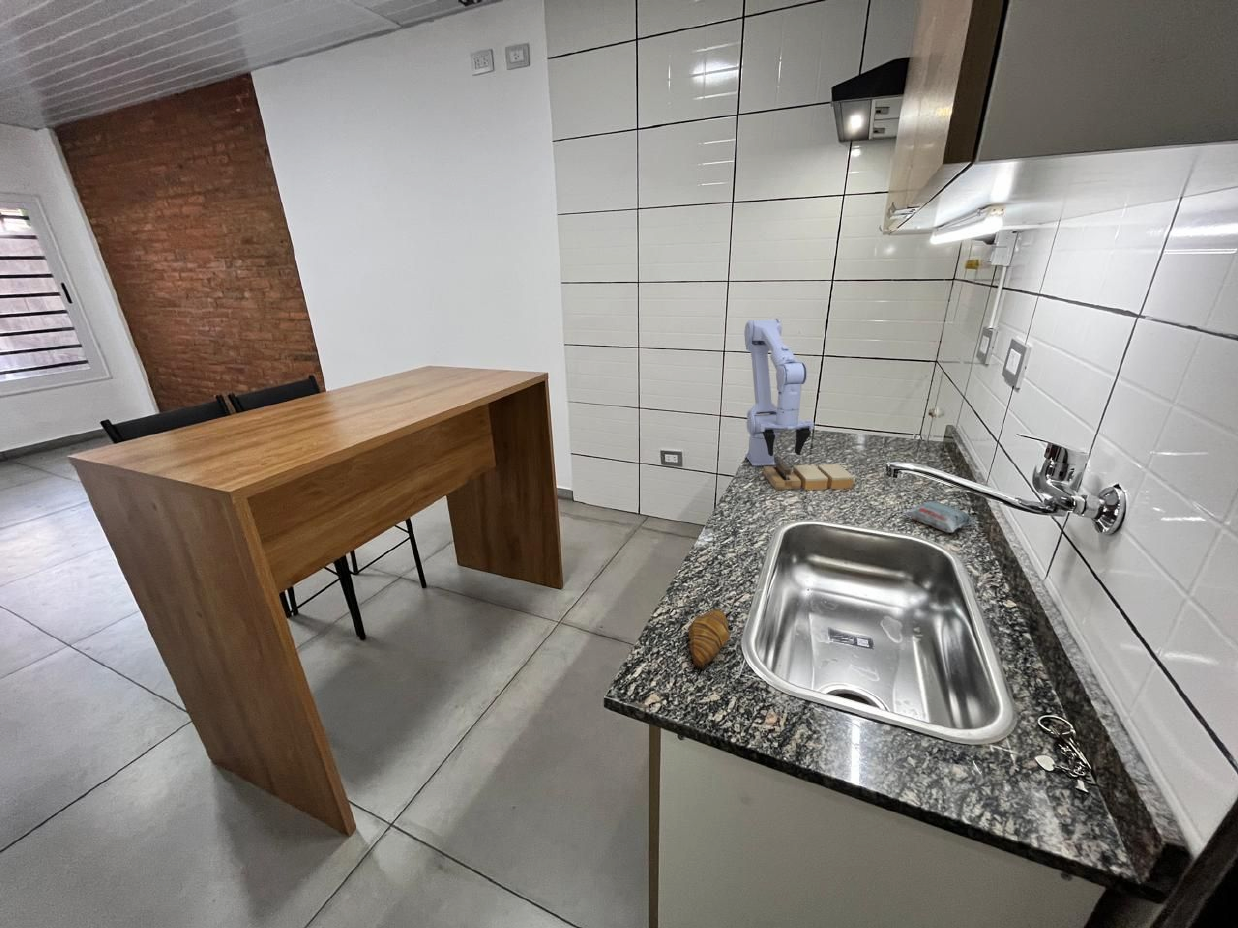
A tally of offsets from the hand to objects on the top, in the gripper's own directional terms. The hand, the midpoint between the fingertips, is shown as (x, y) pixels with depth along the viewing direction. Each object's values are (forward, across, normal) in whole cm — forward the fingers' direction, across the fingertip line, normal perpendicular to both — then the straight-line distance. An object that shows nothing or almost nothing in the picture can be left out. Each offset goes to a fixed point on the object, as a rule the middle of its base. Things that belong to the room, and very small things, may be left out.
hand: (783, 454), depth 136 cm
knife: (+8, 0, 0) cm, 9 cm away
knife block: (+8, 0, 0) cm, 9 cm away
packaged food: (+9, +27, -28) cm, 40 cm away
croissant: (+9, -33, -64) cm, 72 cm away
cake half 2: (+8, +15, -2) cm, 17 cm away
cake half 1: (+8, +7, -2) cm, 11 cm away
